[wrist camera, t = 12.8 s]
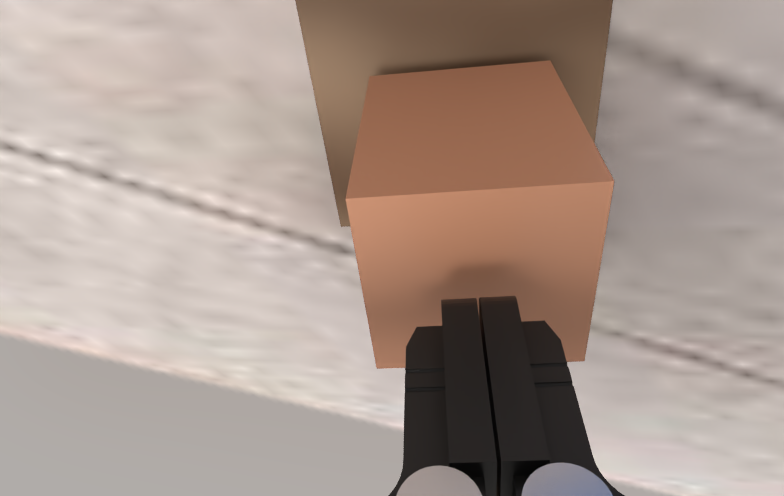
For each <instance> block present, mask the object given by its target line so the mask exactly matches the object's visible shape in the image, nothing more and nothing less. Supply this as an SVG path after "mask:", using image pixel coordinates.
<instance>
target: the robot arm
mask: <svg viewBox="0 0 784 496" xmlns="http://www.w3.org/2000/svg"><path fill="white" fill-rule="evenodd" d="M441 311H442V326H423V327H416V329H415V331H414V333H413V335H412V336H411V338H410V340H409V342H408V344H407V346H406V365H405V370H406V374H405V411H404V460H403V469H402V473H401V477H400V479H399V481H398V483H397V485H396V487H395V488H394V490H393V491H392V492H391V493H390V495H389V496H624V495H622V494H621V493H620V492H618V491H617V490H616V489H615V488H614V487H612V486H611V485H610V484H609V483H608V482H607V480H606V479H605V478H604V477H603V475H602V474H601V473H600V471H599V469H598V468H597V466H596V464H595V461H594V458H593V455H592V452H591V448H590V444H589V441H588V437H587V433H586V430H585V426H584V423H583V419H582V415H581V412H580V408H579V404H578V401H577V397H576V393H575V390H574V386H573V385H572V379H571V375H570V372H569V368H568V367H567V361H566V357H565V353H564V350H563V346H562V342H561V339H560V338H559V337H558V336H557V335H556V333H555V332H554V331H553V330H552V329H551V328H550V326H549V325H548V324H547V323H546V322H545V320H543V321H522V322H521V317H520V312H519V307H518V302H517V299H516V296H499V297H480V298H479V313H478V305H477V299H476V298H464V299H446V300H441Z"/></svg>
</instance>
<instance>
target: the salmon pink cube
mask: <svg viewBox="0 0 784 496" xmlns="http://www.w3.org/2000/svg"><path fill="white" fill-rule="evenodd" d="M613 186H614V180H613V178H612V176H611V174H610V172H609V170H608V168H607V166H606V165H605V163H604V161H603V159H602V157H601V155H600V153H599V151H598V149H597V148H596V146H595V144H594V142H593V140H592V138H591V136H590V134H589V133H588V131H587V129H586V127H585V125H584V123H583V121H582V119H581V117H580V116H579V114H578V112H577V110H576V108H575V106H574V104H573V102H572V100H571V99H570V97H569V95H568V93H567V91H566V89H565V87H564V85H563V84H562V82H561V80H560V78H559V76H558V74H557V72H556V70H555V68H554V67H553V65H552V63H551V61H550V60H549V61H537V62H526V63H514V64H503V65H491V66H480V67H468V68H457V69H445V70H434V71H423V72H411V73H400V74H388V75H377V76H369V81H368V86H367V91H366V97H365V102H364V107H363V112H362V117H361V122H360V127H359V132H358V137H357V143H356V148H355V153H354V158H353V163H352V168H351V173H350V178H349V183H348V189H347V194H346V204H347V210H348V215H349V221H350V226H351V231H352V237H353V242H354V248H355V253H356V259H357V264H358V269H359V275H360V280H361V286H362V291H363V297H364V302H365V307H366V313H367V318H368V324H369V329H370V334H371V340H372V345H373V351H374V356H375V362H376V367H377V368H405V365H406V346H407V344H408V342H409V340H410V338H411V336H412V335H413V333H414V331H415V329H416V327H423V326H442V311H441V300H446V299H464V298H476V299H477V305H478V313H479V298H480V297H499V296H516V299H517V302H518V307H519V312H520V317H521V322H522V321H543V320H545V322H546V323H547V324H548V325H549V326H550V328H551V329H552V330H553V331H554V332H555V333H556V335H557V336H558V337H559V338H560V339H561V342H562V346H563V350H564V353H565V357H566V361H567V362H572V361H584V360H585V354H586V348H587V342H588V336H589V330H590V324H591V318H592V312H593V306H594V300H595V294H596V288H597V282H598V276H599V270H600V264H601V258H602V252H603V246H604V240H605V234H606V228H607V222H608V216H609V210H610V204H611V198H612V192H613Z"/></svg>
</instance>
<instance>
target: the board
mask: <svg viewBox="0 0 784 496" xmlns="http://www.w3.org/2000/svg"><path fill="white" fill-rule="evenodd" d="M295 1H296V6H297V10H298V15H299V20H300V25H301V30H302V35H303V40H304V45H305V50H306V55H307V60H308V65H309V70H310V75H311V80H312V85H313V90H314V95H315V100H316V105H317V110H318V115H319V120H320V125H321V130H322V135H323V140H324V145H325V149H326V154H327V159H328V164H329V169H330V174H331V179H332V184H333V189H334V194H335V199H336V204H337V209H338V214H339V219H340V224H341V227H343V226H350V221H349V215H348V210H347V204H346V194H347V189H348V183H349V178H350V173H351V168H352V163H353V158H354V153H355V148H356V143H357V137H358V132H359V127H360V122H361V117H362V112H363V107H364V102H365V97H366V91H367V86H368V81H369V76H377V75H388V74H400V73H411V72H423V71H434V70H445V69H457V68H468V67H480V66H491V65H503V64H514V63H526V62H537V61H549V60H550V61H551V63H552V65H553V67H554V68H555V70H556V72H557V74H558V76H559V78H560V80H561V82H562V84H563V85H564V87H565V89H566V91H567V93H568V95H569V97H570V99H571V100H572V102H573V104H574V106H575V108H576V110H577V112H578V114H579V116H580V117H581V119H582V121H583V123H584V125H585V127H586V129H587V131H588V133H589V134H590V136H591V138H592V140H593V142H594V141H595V133H596V126H597V118H598V110H599V103H600V95H601V87H602V80H603V72H604V64H605V57H606V49H607V41H608V34H609V26H610V18H611V11H612V3H613V0H295Z"/></svg>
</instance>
